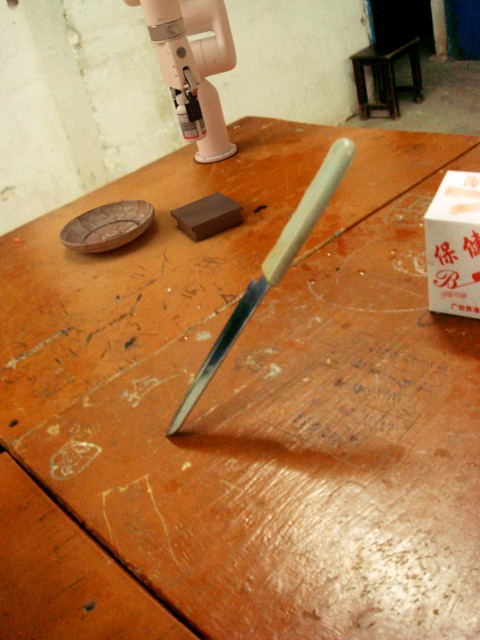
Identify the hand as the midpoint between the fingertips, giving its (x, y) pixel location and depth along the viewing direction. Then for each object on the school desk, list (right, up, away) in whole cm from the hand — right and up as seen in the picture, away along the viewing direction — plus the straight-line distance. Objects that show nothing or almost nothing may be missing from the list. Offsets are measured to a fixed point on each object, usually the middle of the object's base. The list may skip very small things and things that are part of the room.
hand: (190, 117), depth 141 cm
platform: (+4, -22, +9) cm, 24 cm away
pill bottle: (+1, -4, +3) cm, 5 cm away
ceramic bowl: (-20, -25, +14) cm, 35 cm away
